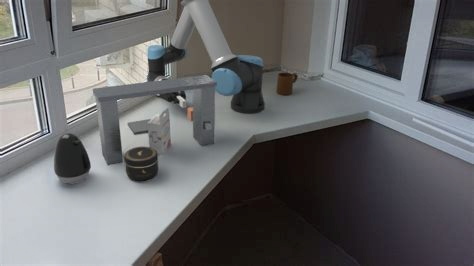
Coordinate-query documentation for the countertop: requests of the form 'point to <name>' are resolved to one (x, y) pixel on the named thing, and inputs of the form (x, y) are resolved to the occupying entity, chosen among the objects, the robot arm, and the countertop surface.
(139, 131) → the mat
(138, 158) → the jar
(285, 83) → the mug
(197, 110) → the grey gantry arch
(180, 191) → the countertop surface
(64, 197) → the countertop surface
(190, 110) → the terracotta clay block
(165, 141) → the ink cartridge box
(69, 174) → the black egg-shaped piece
